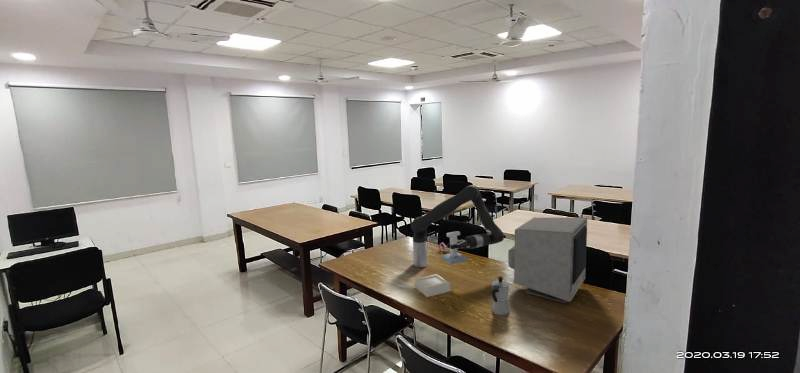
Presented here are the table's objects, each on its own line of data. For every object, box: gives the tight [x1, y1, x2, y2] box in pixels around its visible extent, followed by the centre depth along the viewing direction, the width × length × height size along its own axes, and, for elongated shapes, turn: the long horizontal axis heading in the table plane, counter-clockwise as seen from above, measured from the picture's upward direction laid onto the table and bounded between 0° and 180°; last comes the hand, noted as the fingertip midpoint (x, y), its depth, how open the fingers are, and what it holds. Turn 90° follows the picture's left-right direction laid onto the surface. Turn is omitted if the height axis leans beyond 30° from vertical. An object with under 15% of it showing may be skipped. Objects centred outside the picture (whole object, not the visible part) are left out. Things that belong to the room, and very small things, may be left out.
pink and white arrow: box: [439, 242, 450, 252], centre depth 275 cm, size 7×1×20 cm
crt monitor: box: [507, 217, 588, 304], centre depth 203 cm, size 35×37×40 cm
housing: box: [414, 274, 451, 298], centre depth 213 cm, size 15×15×5 cm
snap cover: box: [440, 230, 468, 265], centre depth 216 cm, size 11×11×16 cm
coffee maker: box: [491, 275, 511, 316], centre depth 183 cm, size 15×9×18 cm, turn 141°
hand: (449, 246), depth 215 cm, fingers closed on snap cover, 3 cm apart
